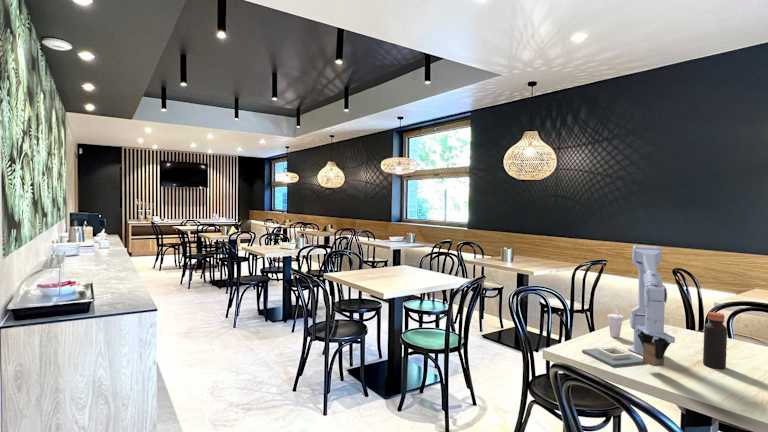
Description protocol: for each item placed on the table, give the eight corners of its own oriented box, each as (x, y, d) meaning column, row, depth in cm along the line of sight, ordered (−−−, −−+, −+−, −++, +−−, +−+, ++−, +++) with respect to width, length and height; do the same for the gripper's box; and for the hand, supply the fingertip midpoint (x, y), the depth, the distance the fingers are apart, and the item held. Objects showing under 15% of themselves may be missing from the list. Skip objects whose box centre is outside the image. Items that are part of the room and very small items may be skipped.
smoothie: (624, 339, 187) (625, 308, 187) (609, 338, 188) (610, 307, 188) (619, 334, 194) (620, 305, 193) (605, 333, 195) (605, 304, 194)
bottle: (720, 370, 152) (722, 316, 151) (699, 364, 158) (701, 312, 158) (729, 367, 155) (731, 314, 155) (708, 361, 161) (710, 310, 161)
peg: (652, 360, 153) (653, 341, 153) (663, 365, 149) (664, 346, 149) (642, 361, 152) (643, 342, 152) (653, 366, 148) (654, 347, 147)
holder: (613, 349, 174) (614, 343, 174) (647, 363, 158) (647, 356, 158) (581, 352, 170) (582, 346, 170) (612, 367, 154) (613, 360, 154)
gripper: (629, 314, 156) (627, 350, 156) (664, 325, 142) (662, 364, 142) (644, 313, 158) (642, 348, 158) (680, 324, 144) (678, 362, 144)
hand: (653, 356), depth 150 cm, fingers closed on peg, 4 cm apart
